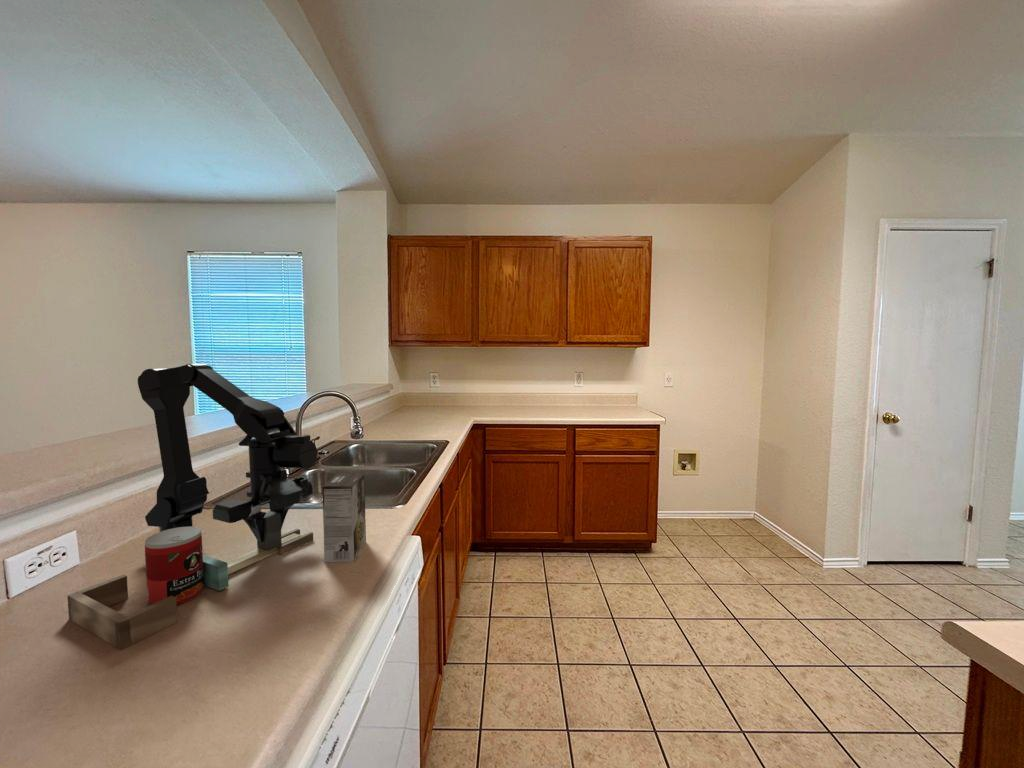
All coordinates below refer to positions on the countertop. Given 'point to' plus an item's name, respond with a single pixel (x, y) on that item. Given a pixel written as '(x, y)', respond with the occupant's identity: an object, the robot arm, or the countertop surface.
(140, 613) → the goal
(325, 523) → the coffee box
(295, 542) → the guide
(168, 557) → the canned food
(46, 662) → the countertop surface
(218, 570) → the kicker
